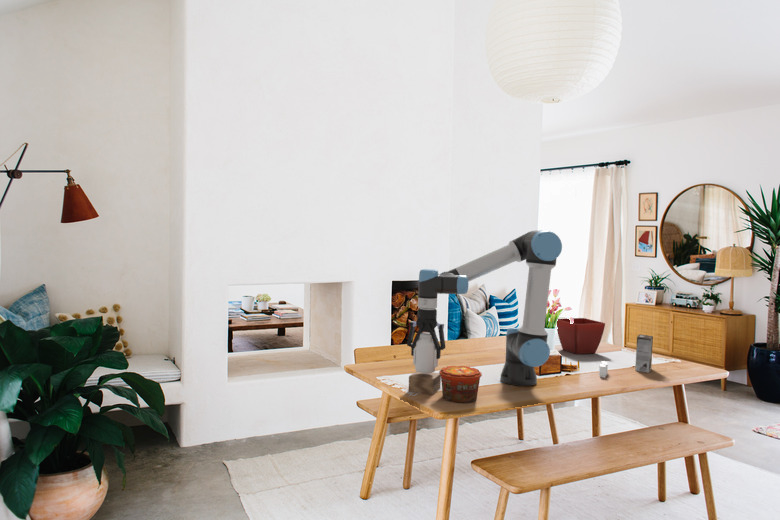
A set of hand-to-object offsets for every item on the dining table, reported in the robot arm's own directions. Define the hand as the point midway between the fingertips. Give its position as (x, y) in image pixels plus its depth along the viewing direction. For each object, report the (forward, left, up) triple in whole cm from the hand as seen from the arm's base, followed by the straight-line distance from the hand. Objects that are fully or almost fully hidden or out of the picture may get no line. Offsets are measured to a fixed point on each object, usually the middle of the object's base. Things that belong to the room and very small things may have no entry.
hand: (425, 365), depth 221 cm
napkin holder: (-65, -62, -11) cm, 90 cm away
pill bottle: (0, 0, -2) cm, 2 cm away
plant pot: (-52, -110, -10) cm, 122 cm away
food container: (-15, +4, -10) cm, 19 cm away
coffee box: (-83, -81, -10) cm, 116 cm away
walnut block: (0, 0, -10) cm, 10 cm away
